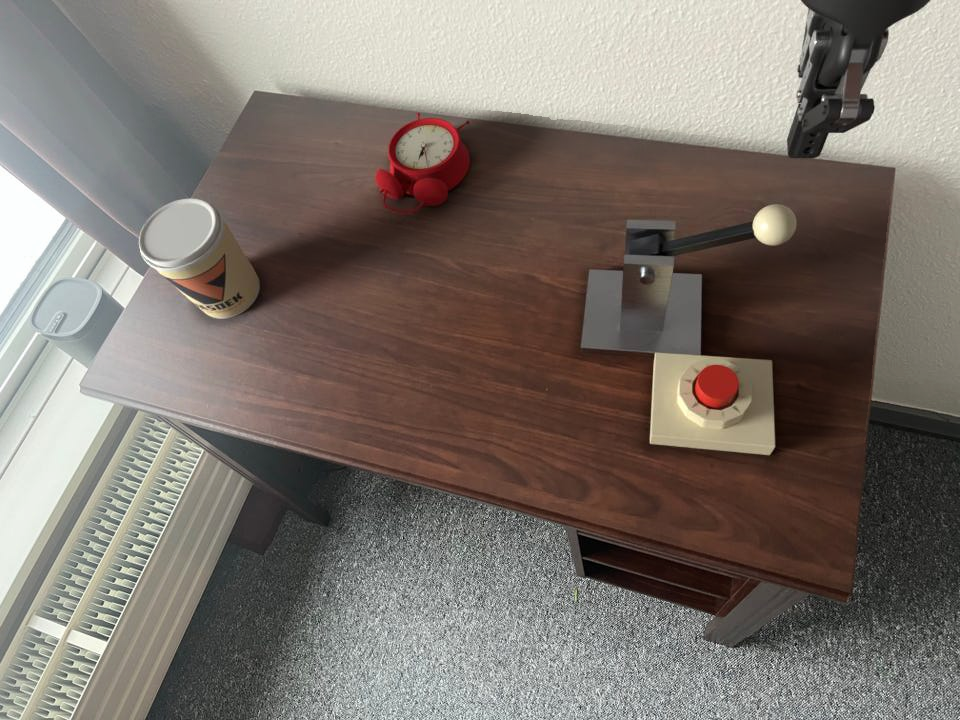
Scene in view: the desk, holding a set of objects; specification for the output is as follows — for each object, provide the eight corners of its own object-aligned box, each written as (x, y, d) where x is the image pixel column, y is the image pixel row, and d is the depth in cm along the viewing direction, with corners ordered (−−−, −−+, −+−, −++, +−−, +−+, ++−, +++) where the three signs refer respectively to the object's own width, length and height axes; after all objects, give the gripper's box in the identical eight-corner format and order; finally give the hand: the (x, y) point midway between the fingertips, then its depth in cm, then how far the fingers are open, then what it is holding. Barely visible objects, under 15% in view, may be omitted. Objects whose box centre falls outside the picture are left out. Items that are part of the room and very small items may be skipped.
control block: (767, 370, 67) (776, 351, 64) (770, 455, 63) (780, 439, 60) (653, 362, 70) (656, 343, 66) (649, 444, 66) (652, 428, 62)
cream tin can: (191, 332, 80) (131, 273, 70) (195, 269, 85) (140, 206, 75) (266, 316, 80) (217, 254, 70) (267, 254, 85) (221, 187, 74)
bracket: (700, 280, 74) (719, 200, 62) (699, 361, 69) (719, 291, 58) (589, 275, 76) (588, 197, 65) (580, 352, 71) (578, 284, 60)
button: (734, 375, 64) (738, 365, 62) (735, 410, 62) (739, 401, 61) (695, 372, 65) (697, 362, 63) (694, 406, 63) (697, 397, 61)
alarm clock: (480, 116, 85) (431, 183, 76) (483, 159, 90) (438, 228, 81) (406, 105, 88) (351, 169, 80) (413, 147, 93) (362, 212, 84)
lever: (799, 216, 58) (790, 191, 55) (801, 248, 56) (792, 223, 54) (642, 252, 66) (628, 232, 63) (640, 281, 64) (626, 261, 62)
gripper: (1001, -24, 31) (866, 223, 46) (955, -176, 37) (849, 87, 52) (822, -17, 32) (749, 220, 47) (806, -165, 38) (746, 88, 53)
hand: (801, 150), depth 49 cm, fingers closed
